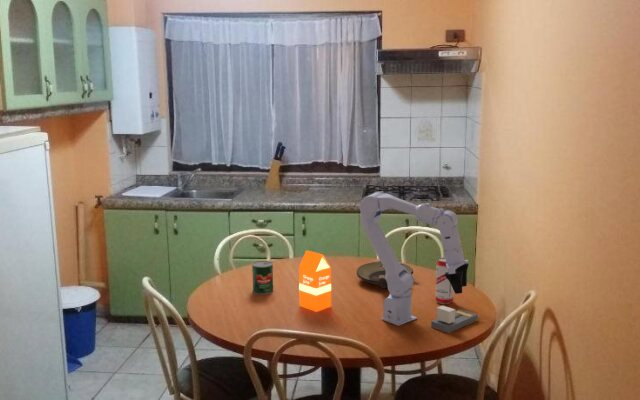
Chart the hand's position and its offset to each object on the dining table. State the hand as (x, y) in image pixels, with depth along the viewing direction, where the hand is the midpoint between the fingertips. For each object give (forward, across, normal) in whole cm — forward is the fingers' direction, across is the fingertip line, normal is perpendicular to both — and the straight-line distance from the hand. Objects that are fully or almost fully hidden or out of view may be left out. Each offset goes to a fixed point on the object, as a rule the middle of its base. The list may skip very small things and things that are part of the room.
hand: (461, 289), depth 201 cm
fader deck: (+12, +4, +6) cm, 14 cm away
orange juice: (+1, +2, +54) cm, 54 cm away
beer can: (+10, +23, +13) cm, 29 cm away
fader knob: (+10, 0, +7) cm, 12 cm away
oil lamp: (+4, +35, +40) cm, 53 cm away
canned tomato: (-5, +10, +78) cm, 79 cm away
